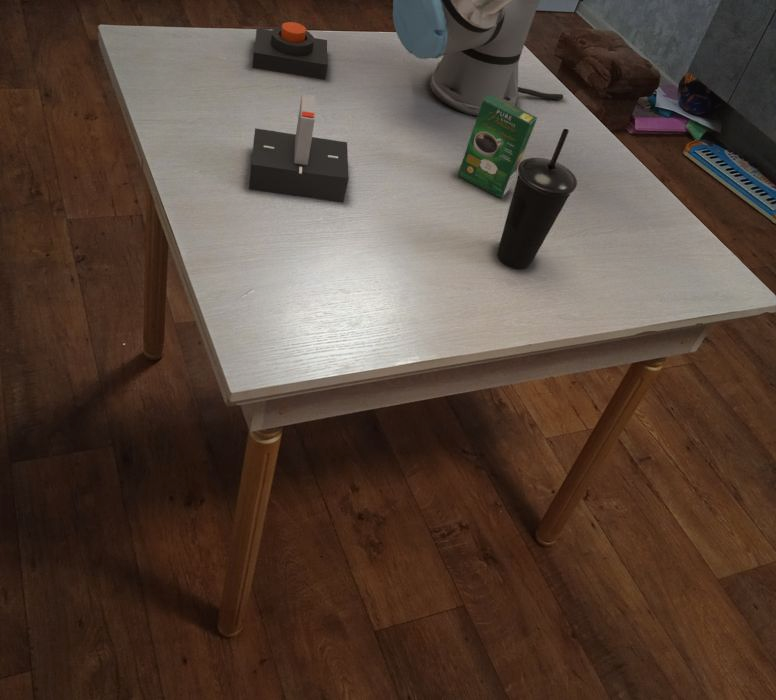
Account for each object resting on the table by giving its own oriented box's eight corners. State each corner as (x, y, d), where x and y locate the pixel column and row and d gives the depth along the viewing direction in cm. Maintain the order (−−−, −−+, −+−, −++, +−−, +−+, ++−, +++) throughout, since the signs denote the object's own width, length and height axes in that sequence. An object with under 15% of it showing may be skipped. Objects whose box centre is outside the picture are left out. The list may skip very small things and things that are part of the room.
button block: (324, 54, 144) (328, 29, 140) (325, 79, 137) (329, 54, 134) (255, 42, 141) (257, 17, 138) (252, 67, 135) (254, 41, 132)
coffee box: (510, 193, 125) (539, 115, 115) (502, 200, 123) (531, 122, 113) (465, 169, 127) (489, 91, 117) (456, 176, 125) (480, 98, 116)
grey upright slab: (295, 139, 115) (301, 92, 110) (307, 141, 115) (315, 94, 110) (294, 163, 111) (301, 115, 106) (307, 165, 111) (315, 117, 106)
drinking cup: (539, 283, 110) (596, 154, 96) (484, 266, 110) (533, 136, 96) (542, 250, 116) (597, 124, 102) (490, 234, 116) (537, 106, 102)
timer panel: (342, 163, 121) (347, 138, 118) (343, 205, 114) (348, 179, 111) (252, 150, 118) (255, 124, 115) (248, 191, 111) (251, 165, 108)
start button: (305, 34, 138) (306, 24, 137) (304, 45, 135) (306, 35, 134) (281, 30, 137) (282, 20, 136) (280, 41, 135) (281, 30, 133)
